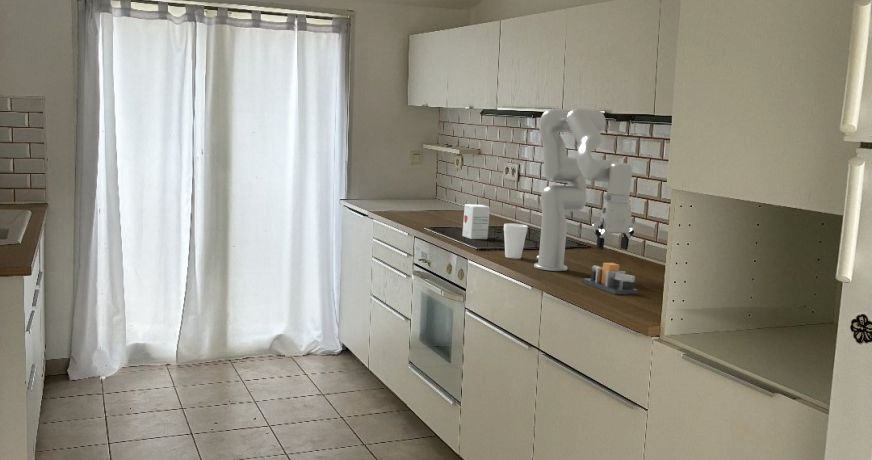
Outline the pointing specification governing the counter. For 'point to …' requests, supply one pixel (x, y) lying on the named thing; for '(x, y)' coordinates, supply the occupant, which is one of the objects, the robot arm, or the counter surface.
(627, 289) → the shaft stand
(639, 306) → the counter surface
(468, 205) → the supplement box
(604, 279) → the orange block
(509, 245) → the foam cup
